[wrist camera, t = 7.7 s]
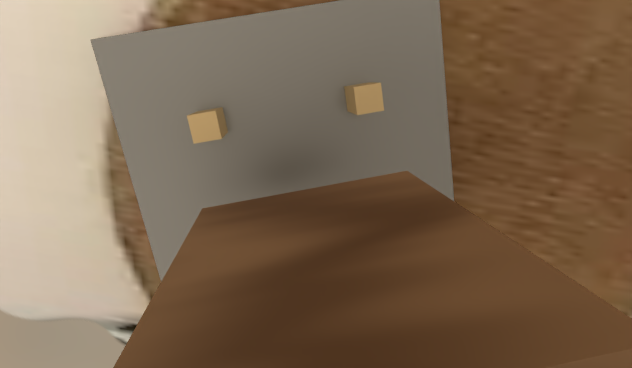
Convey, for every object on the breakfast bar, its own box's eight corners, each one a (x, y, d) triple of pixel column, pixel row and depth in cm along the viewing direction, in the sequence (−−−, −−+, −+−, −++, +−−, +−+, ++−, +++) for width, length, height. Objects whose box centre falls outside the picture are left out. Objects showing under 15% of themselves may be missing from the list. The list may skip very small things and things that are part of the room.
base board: (428, -10, 25) (461, -29, 21) (451, 278, 30) (481, 311, 26) (101, 42, 24) (62, 33, 19) (184, 331, 29) (168, 376, 25)
